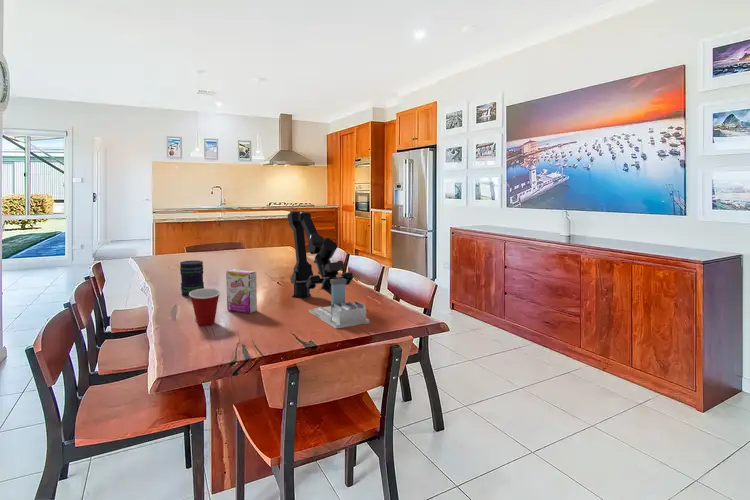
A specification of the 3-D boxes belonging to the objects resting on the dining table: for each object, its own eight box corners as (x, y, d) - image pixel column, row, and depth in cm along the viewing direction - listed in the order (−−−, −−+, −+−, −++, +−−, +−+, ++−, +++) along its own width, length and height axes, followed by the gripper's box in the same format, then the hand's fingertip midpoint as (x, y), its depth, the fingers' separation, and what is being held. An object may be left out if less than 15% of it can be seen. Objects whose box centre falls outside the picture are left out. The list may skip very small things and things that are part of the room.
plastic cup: (191, 330, 152) (190, 296, 150) (188, 321, 161) (187, 289, 159) (224, 326, 157) (223, 293, 155) (219, 318, 166) (218, 287, 164)
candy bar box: (226, 311, 175) (225, 271, 173) (234, 307, 180) (233, 268, 178) (250, 314, 172) (249, 273, 170) (257, 310, 176) (256, 271, 174)
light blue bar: (329, 313, 169) (330, 279, 168) (342, 311, 172) (343, 277, 170) (338, 318, 163) (338, 283, 161) (351, 316, 166) (352, 281, 164)
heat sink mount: (309, 312, 176) (309, 294, 175) (340, 307, 183) (340, 290, 182) (335, 328, 156) (335, 308, 155) (369, 323, 163) (369, 303, 162)
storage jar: (208, 293, 203) (207, 261, 201) (190, 297, 195) (188, 264, 193) (195, 290, 208) (194, 259, 206) (176, 294, 200) (175, 262, 198)
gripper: (308, 255, 167) (320, 289, 159) (351, 252, 177) (365, 284, 169) (301, 272, 175) (312, 305, 167) (342, 268, 185) (354, 299, 177)
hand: (336, 298), depth 170 cm, fingers closed, pressing on light blue bar
